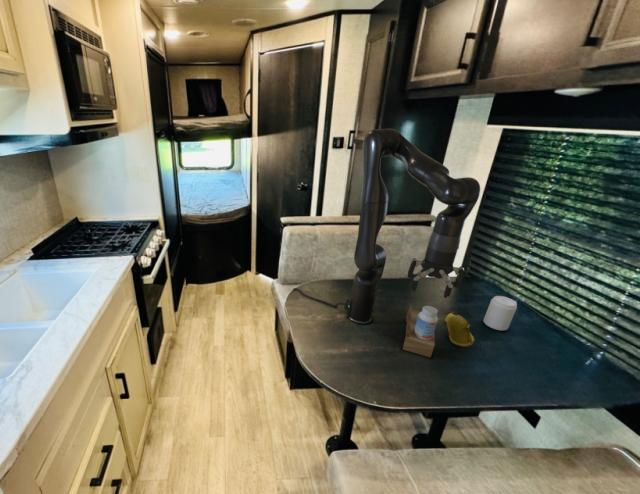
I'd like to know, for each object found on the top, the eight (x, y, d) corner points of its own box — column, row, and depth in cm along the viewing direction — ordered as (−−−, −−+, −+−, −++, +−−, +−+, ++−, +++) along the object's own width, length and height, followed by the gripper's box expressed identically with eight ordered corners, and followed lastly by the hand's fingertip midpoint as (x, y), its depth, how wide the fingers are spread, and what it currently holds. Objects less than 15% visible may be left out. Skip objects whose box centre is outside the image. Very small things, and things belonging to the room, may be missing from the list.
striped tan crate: (430, 357, 112) (436, 340, 108) (402, 349, 116) (407, 332, 112) (429, 326, 128) (434, 310, 124) (405, 320, 132) (409, 304, 128)
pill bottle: (424, 342, 110) (432, 316, 106) (409, 332, 115) (416, 306, 111) (436, 337, 112) (444, 312, 108) (421, 327, 118) (428, 302, 113)
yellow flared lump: (451, 353, 114) (463, 319, 108) (434, 338, 121) (444, 306, 115) (477, 348, 116) (491, 315, 110) (459, 334, 123) (471, 302, 117)
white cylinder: (485, 328, 126) (495, 303, 121) (481, 317, 133) (490, 293, 128) (509, 334, 123) (521, 308, 118) (504, 322, 130) (514, 298, 125)
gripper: (470, 246, 92) (454, 293, 99) (415, 237, 98) (404, 282, 105) (473, 255, 86) (456, 305, 93) (415, 246, 92) (403, 293, 99)
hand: (429, 293), depth 99 cm, fingers open, 8 cm apart
